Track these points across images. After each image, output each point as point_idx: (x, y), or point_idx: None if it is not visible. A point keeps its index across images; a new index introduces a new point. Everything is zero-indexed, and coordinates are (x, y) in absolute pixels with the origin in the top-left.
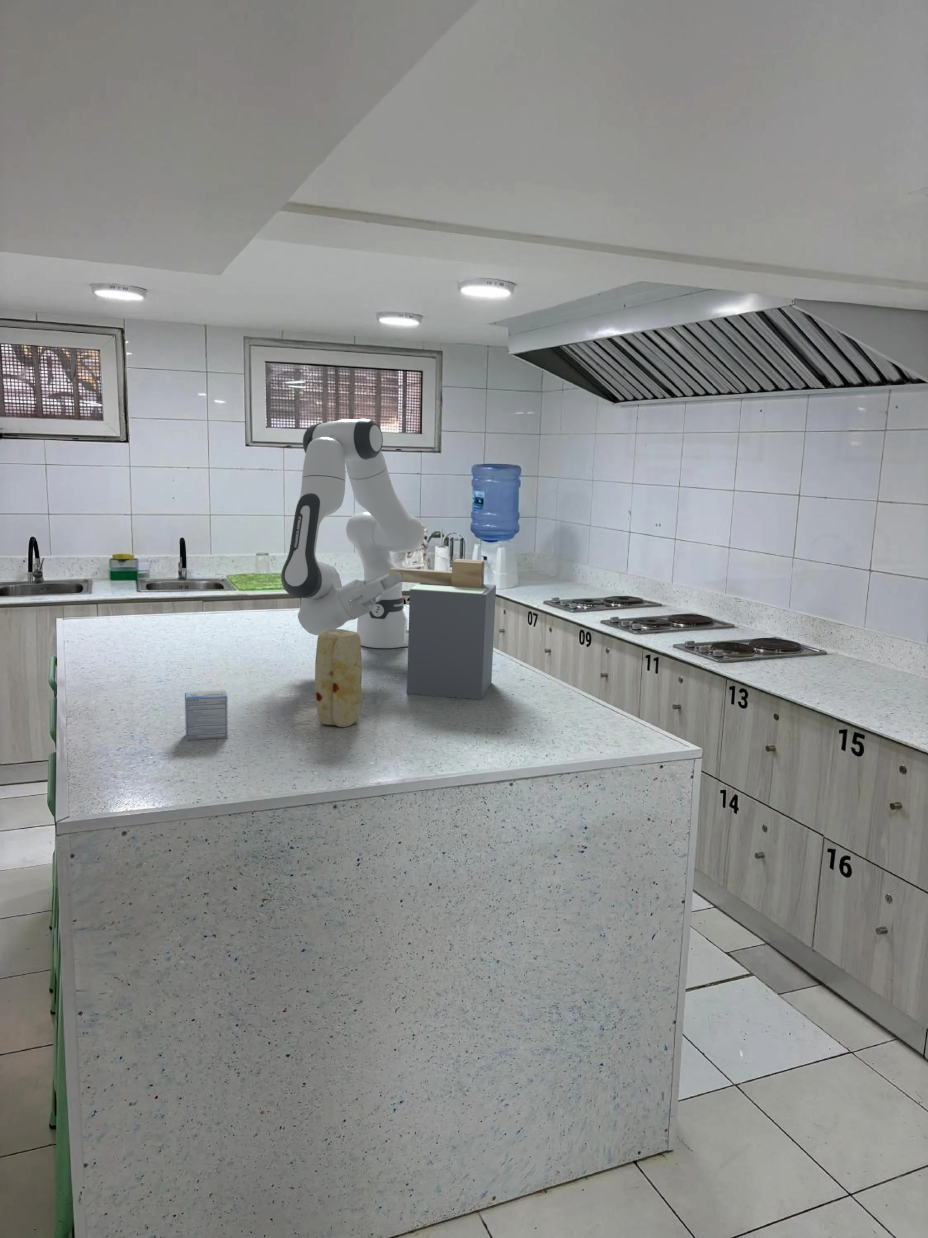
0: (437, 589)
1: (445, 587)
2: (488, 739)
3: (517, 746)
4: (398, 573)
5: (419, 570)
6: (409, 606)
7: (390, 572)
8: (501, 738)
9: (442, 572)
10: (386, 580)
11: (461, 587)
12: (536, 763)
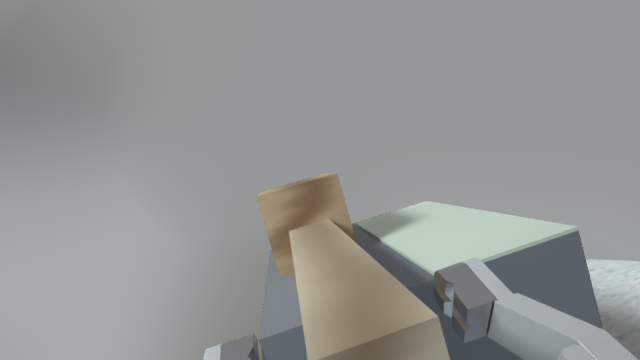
0: (475, 219)
1: (416, 233)
2: (636, 310)
3: (607, 288)
4: (478, 260)
5: (338, 250)
6: (595, 302)
7: (440, 343)
8: (610, 306)
9: (334, 224)
10: (599, 341)
11: (379, 231)
12: (623, 264)
